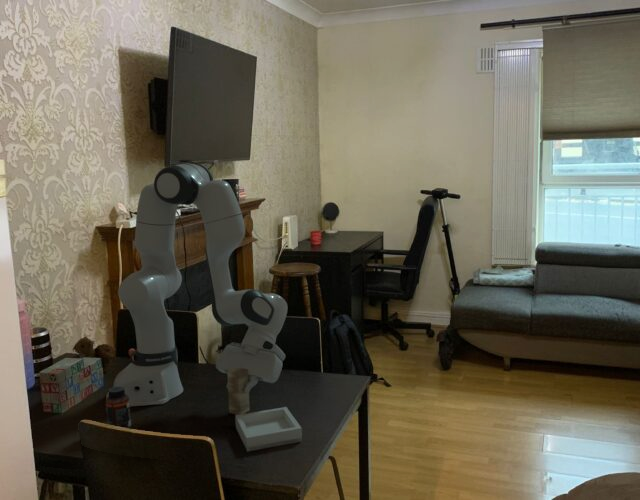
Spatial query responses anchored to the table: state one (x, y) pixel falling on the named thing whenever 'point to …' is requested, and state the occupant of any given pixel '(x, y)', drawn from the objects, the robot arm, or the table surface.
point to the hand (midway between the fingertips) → (237, 390)
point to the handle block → (238, 391)
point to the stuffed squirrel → (95, 352)
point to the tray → (268, 428)
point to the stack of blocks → (69, 382)
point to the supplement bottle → (118, 408)
